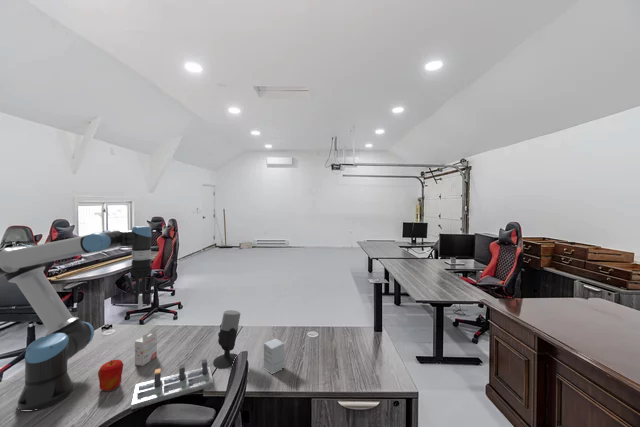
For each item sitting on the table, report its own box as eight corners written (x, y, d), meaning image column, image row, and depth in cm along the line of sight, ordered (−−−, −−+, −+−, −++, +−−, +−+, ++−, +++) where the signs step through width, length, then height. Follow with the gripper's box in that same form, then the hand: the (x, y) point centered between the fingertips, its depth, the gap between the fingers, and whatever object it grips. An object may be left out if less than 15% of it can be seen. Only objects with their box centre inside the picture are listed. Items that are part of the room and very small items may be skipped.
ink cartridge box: (148, 355, 135) (149, 327, 135) (156, 356, 134) (157, 328, 134) (133, 364, 126) (134, 334, 126) (142, 366, 125) (143, 336, 126)
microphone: (245, 361, 132) (246, 312, 132) (220, 372, 122) (221, 319, 122) (232, 351, 140) (233, 305, 140) (208, 361, 131) (209, 312, 131)
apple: (106, 381, 114) (106, 355, 114) (127, 380, 115) (128, 353, 115) (92, 395, 105) (93, 366, 105) (115, 393, 106) (116, 365, 106)
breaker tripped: (152, 390, 106) (153, 373, 106) (153, 386, 108) (153, 369, 108) (161, 388, 107) (161, 371, 107) (161, 384, 110) (162, 367, 110)
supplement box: (275, 362, 131) (276, 337, 131) (284, 369, 126) (284, 343, 126) (262, 368, 126) (263, 342, 126) (271, 375, 120) (272, 348, 120)
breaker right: (200, 377, 114) (201, 363, 114) (200, 374, 117) (200, 360, 117) (208, 376, 116) (208, 361, 116) (207, 372, 118) (207, 358, 118)
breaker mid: (177, 384, 110) (178, 369, 110) (177, 380, 113) (178, 365, 113) (185, 382, 111) (186, 367, 111) (185, 378, 114) (185, 363, 114)
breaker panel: (131, 409, 98) (131, 400, 98) (135, 389, 109) (136, 380, 109) (213, 386, 112) (213, 377, 112) (209, 370, 124) (209, 362, 124)
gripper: (122, 261, 116) (121, 313, 116) (157, 259, 122) (156, 308, 122) (125, 258, 122) (124, 308, 122) (158, 256, 129) (157, 303, 129)
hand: (140, 308), depth 122 cm, fingers closed
